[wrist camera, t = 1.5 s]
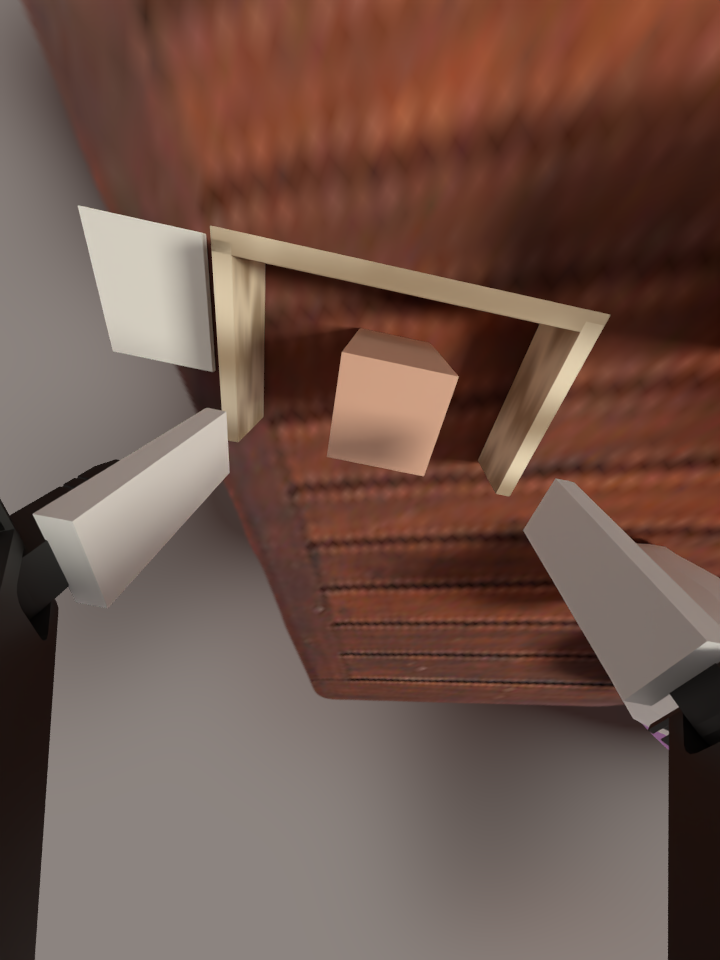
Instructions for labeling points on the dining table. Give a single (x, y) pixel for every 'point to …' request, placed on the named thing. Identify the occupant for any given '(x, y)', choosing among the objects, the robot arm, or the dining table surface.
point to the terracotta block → (389, 402)
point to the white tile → (152, 288)
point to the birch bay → (547, 358)
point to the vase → (703, 588)
